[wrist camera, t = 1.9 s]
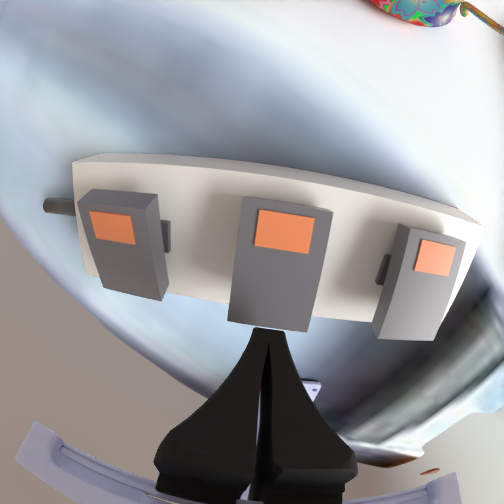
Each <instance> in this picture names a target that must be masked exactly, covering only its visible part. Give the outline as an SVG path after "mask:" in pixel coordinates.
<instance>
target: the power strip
mask: <svg viewBox="0 0 504 504" xmlns="http://www.w3.org/2000/svg"><path fill="white" fill-rule="evenodd" d="M72 175H73V190H74V200H67V199H55V198H47V199H46V200H45V201H44V203H43V209H44V211H45V212H46V213H54V214H62V215H70V216H76V219H77V227H78V234H79V240H80V246H81V252H82V257H83V263H84V268H85V272H86V274H88V275H92V276H96V277H100V276H99V274H98V271H97V268H96V265H95V262H94V259H93V256H92V253H91V250H90V247H89V244H88V241H87V238H86V234H85V231H84V227H83V224H82V220H81V217H80V213H79V209H78V205H77V202H78V201H79V200H80V199H81V198H82V197H83V196H84V195H85V194H86V193H88V192H89V191H90V190H91V189H103V190H116V191H129V192H140V193H151V194H158V202H159V212H160V221H161V230H162V238H163V246H164V253H165V260H166V267H167V273H168V279H169V286H168V288H167V290H166V292H168V293H173V294H178V295H183V296H188V297H193V298H199V299H204V300H210V301H215V302H221V303H227V304H229V302H230V293H231V285H232V276H233V268H234V260H235V252H236V244H237V236H238V228H239V221H240V213H241V205H242V198H243V197H245V196H251V197H258V198H265V199H271V200H278V201H284V202H291V203H297V204H303V205H309V206H314V207H320V208H326V209H329V210H330V211H332V212H333V218H332V224H331V229H330V234H329V239H328V244H327V249H326V254H325V259H324V264H323V268H322V273H321V277H320V282H319V286H318V290H317V295H316V299H315V303H314V307H313V311H312V315H311V316H317V317H326V318H335V319H344V320H354V321H365V322H372V320H373V317H374V314H375V311H376V308H377V305H378V302H379V298H380V295H381V292H382V288H383V285H384V282H385V278H386V274H387V271H388V267H389V263H390V259H391V255H392V251H393V247H394V243H395V238H396V234H397V229H398V224H399V223H400V224H404V225H408V226H413V227H417V228H421V229H425V230H429V231H433V232H437V233H441V234H445V235H449V236H453V237H455V238H458V239H460V240H462V241H465V242H466V246H465V250H464V254H463V257H462V261H461V265H460V268H459V272H458V275H457V278H456V282H455V285H454V288H453V291H452V294H451V297H450V300H449V303H448V305H447V308H446V311H445V313H444V316H443V319H444V317H445V315H446V314H447V312H448V310H449V308H450V306H451V304H452V302H453V300H454V299H455V297H456V295H457V293H458V291H459V288H460V286H461V284H462V282H463V280H464V278H465V276H466V274H467V271H468V269H469V267H470V264H471V262H472V260H473V257H474V255H475V252H476V250H477V247H478V245H479V242H480V239H481V236H482V234H483V231H484V228H485V227H484V226H483V225H481V224H480V223H478V222H477V221H476V220H474V219H473V218H471V217H470V216H468V215H467V214H465V213H464V212H462V211H461V210H459V209H457V208H454V207H451V206H448V205H445V204H442V203H439V202H436V201H433V200H429V199H426V198H422V197H419V196H416V195H412V194H408V193H405V192H401V191H397V190H394V189H390V188H386V187H382V186H378V185H374V184H369V183H365V182H361V181H356V180H352V179H347V178H343V177H338V176H333V175H328V174H323V173H317V172H312V171H306V170H300V169H295V168H288V167H282V166H276V165H269V164H262V163H254V162H246V161H238V160H229V159H219V158H209V157H197V156H184V155H167V154H144V153H101V154H97V155H94V156H91V157H87V158H84V159H81V160H78V161H75V162H72ZM443 319H442V321H443ZM442 321H441V323H442Z"/></svg>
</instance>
